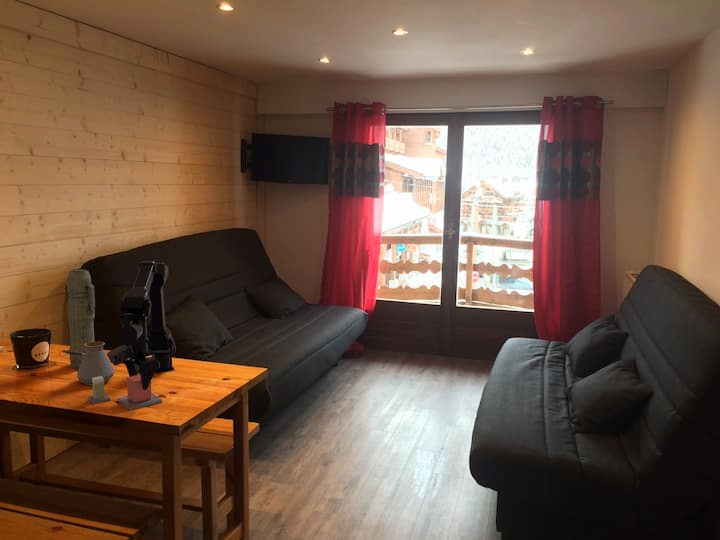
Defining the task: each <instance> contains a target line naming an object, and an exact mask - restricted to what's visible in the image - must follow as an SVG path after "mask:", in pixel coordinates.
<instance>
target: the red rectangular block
mask: <svg viewBox="0 0 720 540" xmlns="http://www.w3.org/2000/svg"><path fill="white" fill-rule="evenodd" d="M126 387H127V389H126V390H127V396H128V399H130V400H131V401H133V402H134V403H136V402H140V401H144V400H148V399H151V393H152V382H150V384H149V386H148V388H147V390H143V388H142V384H141V378H140V374H137V375H135V376H130V377H129V376H126Z"/></svg>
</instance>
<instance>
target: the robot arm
mask: <svg viewBox="0 0 720 540" xmlns="http://www.w3.org/2000/svg"><path fill="white" fill-rule="evenodd" d="M138 266H139V267H138V273H137V276H136V278H135V281H134V283H133V287H132V288H131V289H129V290H127V291H126V292H125V294H124V296H123V298H122V299H121V302H120V307H119V313H118V321H123V322H122V324H123V325H122V326H120V328H118V330H117V332H116V340H117V341H118V342H119V343H120V344H121V345H120V346H117V347H115V348H113V349H112V350H110V351H108V352H106V356H107V358H108V360H109V361H110V363H111V365H112V366H119V365H120V364H121V363H123V365H125V367H126V371H127V374H128V377H130V376H135V375H140V378H141V384H142V388H143V390H147V388H148V386H149V384H150V382H151V381H152V379H153V377H154V375H155V373H157V374H159V373H164V372H169V371H174V370H175V367H173V355H174V354H175V353H176V352H177V349H176V347H177V346H176V343H175V341H174V338H173V336H172V332H171V330H170V328H168V326H167V325H166V314H165V312H166V311H165V300H164V284H166V281H167V280H168V276H169V267H168V266H167V265H166V264H165V262H156V261H152V260H151V261H150V260H149V261H142V262H139V264H138ZM149 317H150V318H151V320H150V321H151V330H150V332H149V333H148V327H147V326H148V324H147V319H148V318H149ZM151 383H152V382H151Z"/></svg>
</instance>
